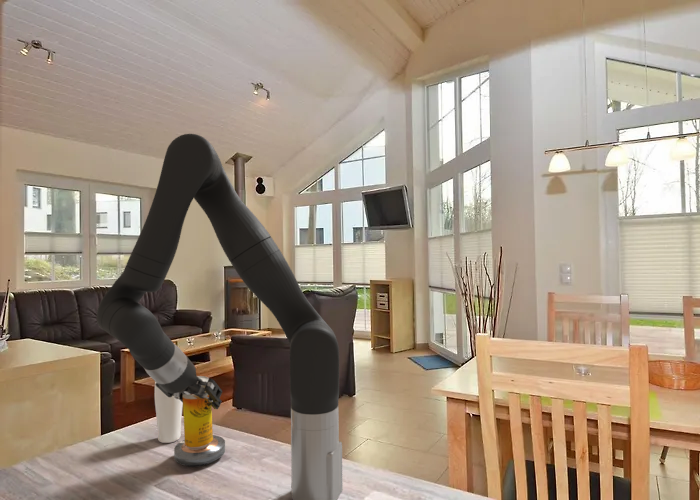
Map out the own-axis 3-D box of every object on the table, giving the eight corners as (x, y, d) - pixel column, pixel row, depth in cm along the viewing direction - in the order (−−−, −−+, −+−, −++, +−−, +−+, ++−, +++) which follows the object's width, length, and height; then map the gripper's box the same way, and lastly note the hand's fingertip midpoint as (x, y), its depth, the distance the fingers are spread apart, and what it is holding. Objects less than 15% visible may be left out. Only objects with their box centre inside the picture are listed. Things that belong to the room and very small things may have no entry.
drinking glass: (189, 437, 110) (189, 378, 110) (165, 447, 105) (165, 385, 105) (172, 431, 114) (172, 374, 114) (149, 441, 108) (148, 381, 108)
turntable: (234, 446, 103) (234, 437, 103) (206, 468, 92) (206, 458, 92) (194, 440, 106) (194, 432, 106) (163, 461, 96) (163, 452, 96)
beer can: (204, 451, 95) (201, 384, 95) (179, 450, 97) (176, 383, 96) (218, 439, 101) (215, 375, 101) (194, 437, 103) (191, 375, 102)
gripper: (206, 353, 90) (237, 391, 101) (150, 349, 94) (185, 386, 105) (190, 386, 85) (224, 422, 96) (131, 380, 89) (170, 416, 100)
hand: (203, 403), depth 101 cm, fingers open, 7 cm apart
